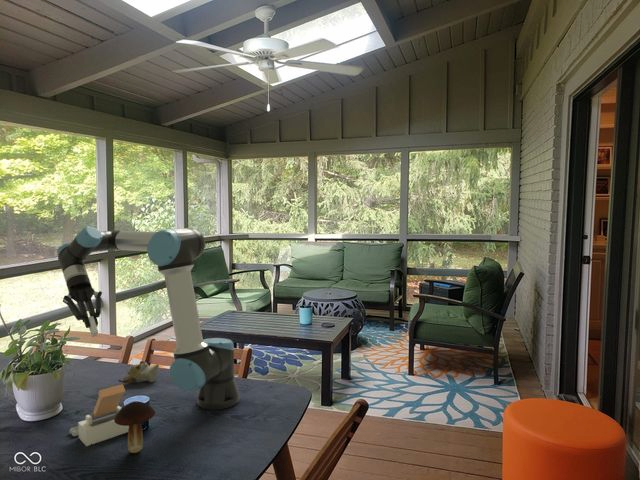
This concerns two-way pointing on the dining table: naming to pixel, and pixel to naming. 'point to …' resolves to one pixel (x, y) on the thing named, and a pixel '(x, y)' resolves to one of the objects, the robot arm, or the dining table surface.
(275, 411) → the dining table surface
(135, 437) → the decorative mushroom
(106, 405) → the lever
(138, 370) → the ceramic sculpture
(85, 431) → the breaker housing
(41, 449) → the dining table surface
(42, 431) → the dining table surface
